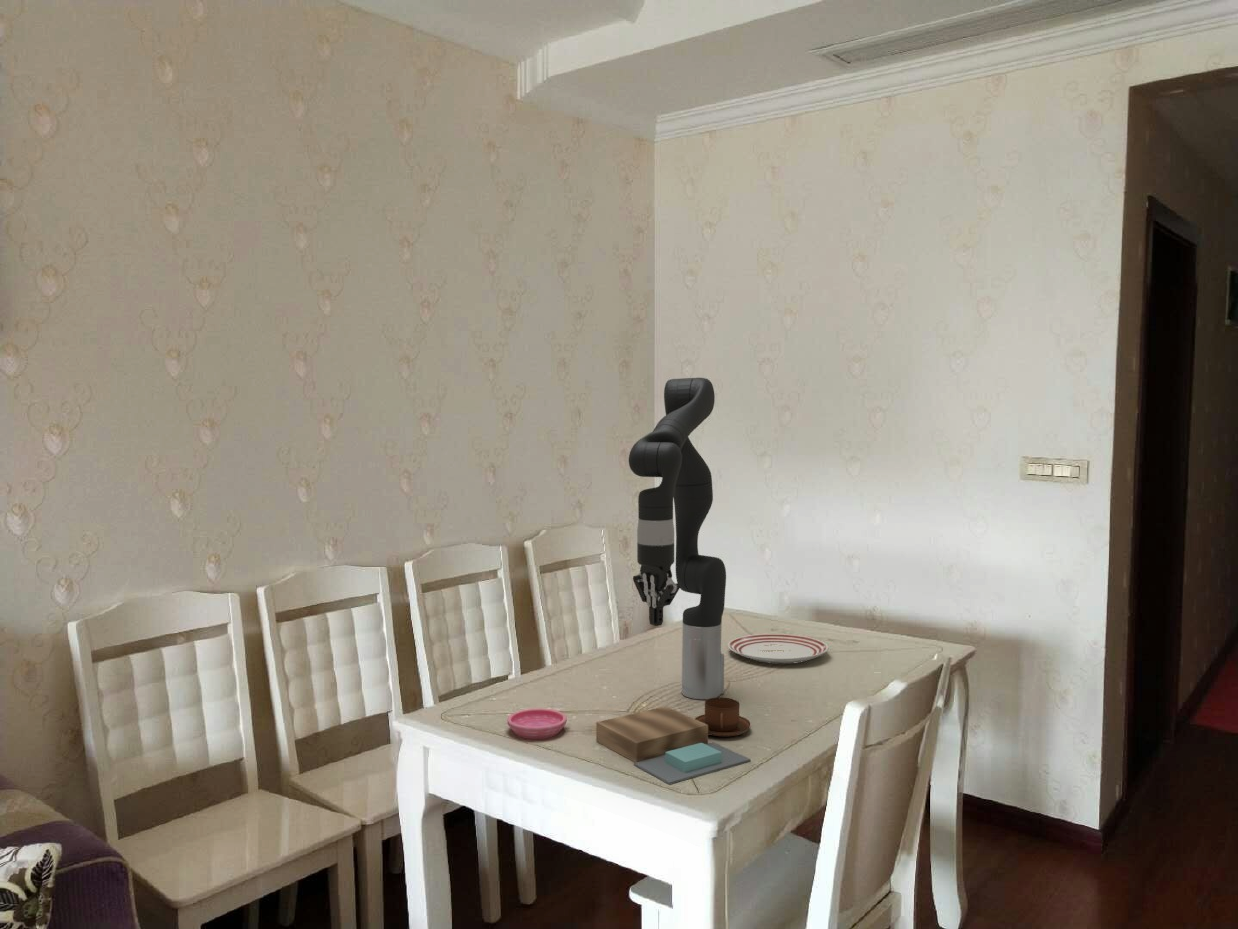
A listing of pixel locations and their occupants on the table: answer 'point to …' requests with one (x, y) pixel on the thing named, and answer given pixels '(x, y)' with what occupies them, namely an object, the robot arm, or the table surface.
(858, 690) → the table surface
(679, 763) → the teal rectangular block
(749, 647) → the dinner plate
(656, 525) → the robot arm
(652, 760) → the mat
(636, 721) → the wooden block
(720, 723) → the cup and saucer
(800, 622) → the table surface
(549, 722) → the pink round bowl
